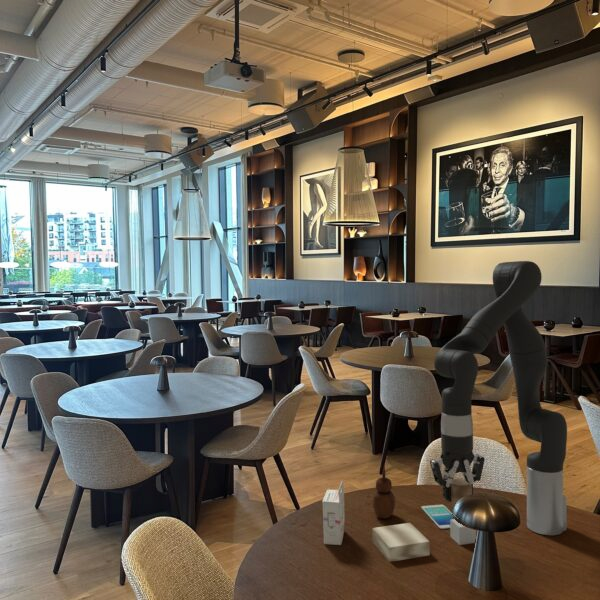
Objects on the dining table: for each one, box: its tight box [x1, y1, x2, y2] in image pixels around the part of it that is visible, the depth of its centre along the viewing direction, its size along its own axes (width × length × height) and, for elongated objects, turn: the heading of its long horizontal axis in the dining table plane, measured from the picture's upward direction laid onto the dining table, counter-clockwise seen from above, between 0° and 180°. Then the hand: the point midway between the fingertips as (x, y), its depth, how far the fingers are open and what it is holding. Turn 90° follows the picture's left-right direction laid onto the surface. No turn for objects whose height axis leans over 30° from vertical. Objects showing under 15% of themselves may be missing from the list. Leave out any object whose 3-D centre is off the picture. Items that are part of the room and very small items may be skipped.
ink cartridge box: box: [321, 479, 346, 546], centre depth 148 cm, size 9×5×15 cm, turn 168°
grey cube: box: [449, 519, 477, 546], centre depth 146 cm, size 5×5×5 cm
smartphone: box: [421, 504, 454, 531], centre depth 160 cm, size 8×1×15 cm
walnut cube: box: [445, 477, 472, 507], centre depth 134 cm, size 5×5×5 cm
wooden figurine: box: [372, 464, 396, 519], centre depth 161 cm, size 7×6×15 cm
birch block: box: [371, 522, 431, 563], centre depth 142 cm, size 11×11×4 cm
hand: (457, 498), depth 134 cm, fingers closed on walnut cube, 4 cm apart
